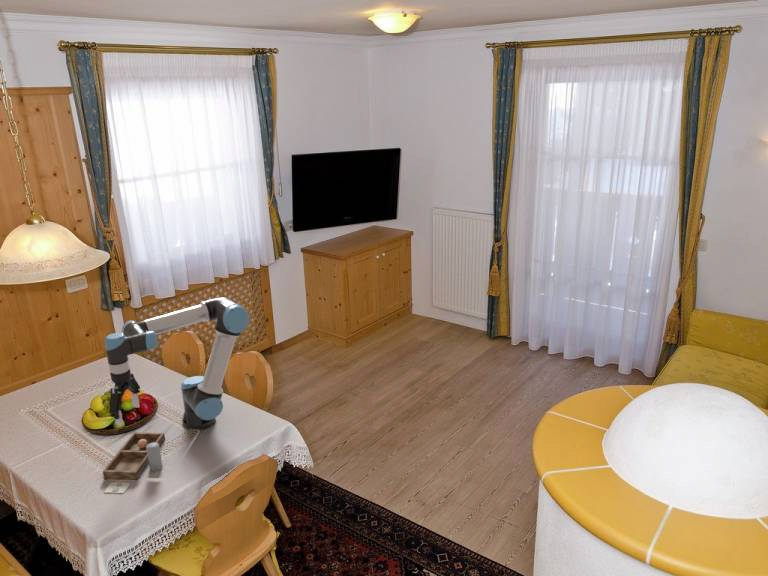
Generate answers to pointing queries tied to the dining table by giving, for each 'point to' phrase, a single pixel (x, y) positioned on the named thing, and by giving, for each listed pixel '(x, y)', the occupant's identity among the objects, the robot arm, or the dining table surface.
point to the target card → (117, 488)
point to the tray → (131, 458)
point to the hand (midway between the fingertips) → (128, 415)
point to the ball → (142, 443)
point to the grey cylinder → (154, 457)
